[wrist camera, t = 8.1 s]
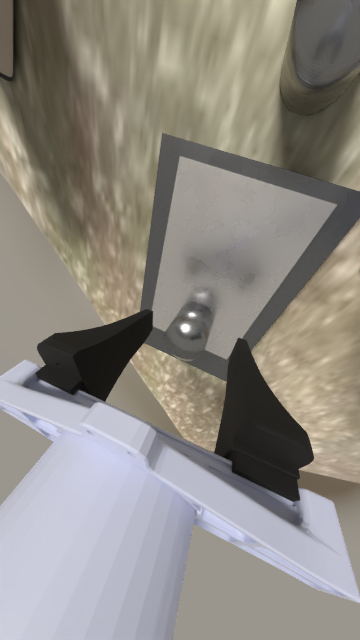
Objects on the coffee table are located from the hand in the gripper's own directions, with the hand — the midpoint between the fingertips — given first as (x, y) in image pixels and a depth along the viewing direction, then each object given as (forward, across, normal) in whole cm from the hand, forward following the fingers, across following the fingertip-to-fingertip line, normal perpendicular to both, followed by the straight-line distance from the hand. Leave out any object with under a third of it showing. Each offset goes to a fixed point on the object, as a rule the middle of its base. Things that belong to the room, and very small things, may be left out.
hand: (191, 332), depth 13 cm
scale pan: (+7, 0, -2) cm, 7 cm away
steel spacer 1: (+6, +1, +3) cm, 7 cm away
